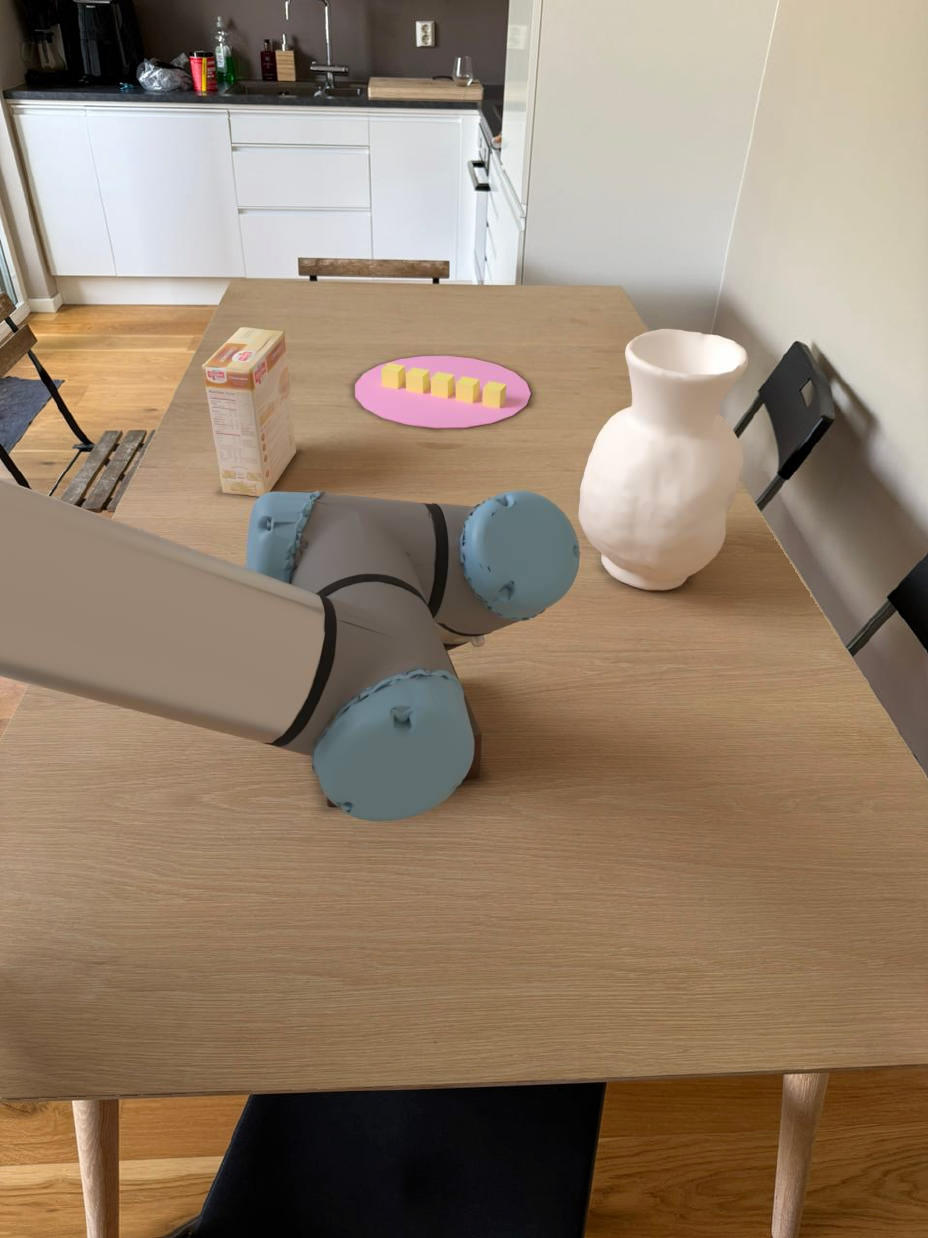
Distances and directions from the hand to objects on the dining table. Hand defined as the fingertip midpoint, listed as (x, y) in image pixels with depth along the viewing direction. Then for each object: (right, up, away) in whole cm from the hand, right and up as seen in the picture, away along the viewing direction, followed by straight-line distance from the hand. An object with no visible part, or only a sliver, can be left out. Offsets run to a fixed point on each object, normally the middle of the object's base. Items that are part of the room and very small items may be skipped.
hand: (373, 640), depth 87 cm
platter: (+5, +44, +75) cm, 86 cm away
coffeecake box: (-22, +24, +48) cm, 58 cm away
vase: (+33, +8, +30) cm, 45 cm away
